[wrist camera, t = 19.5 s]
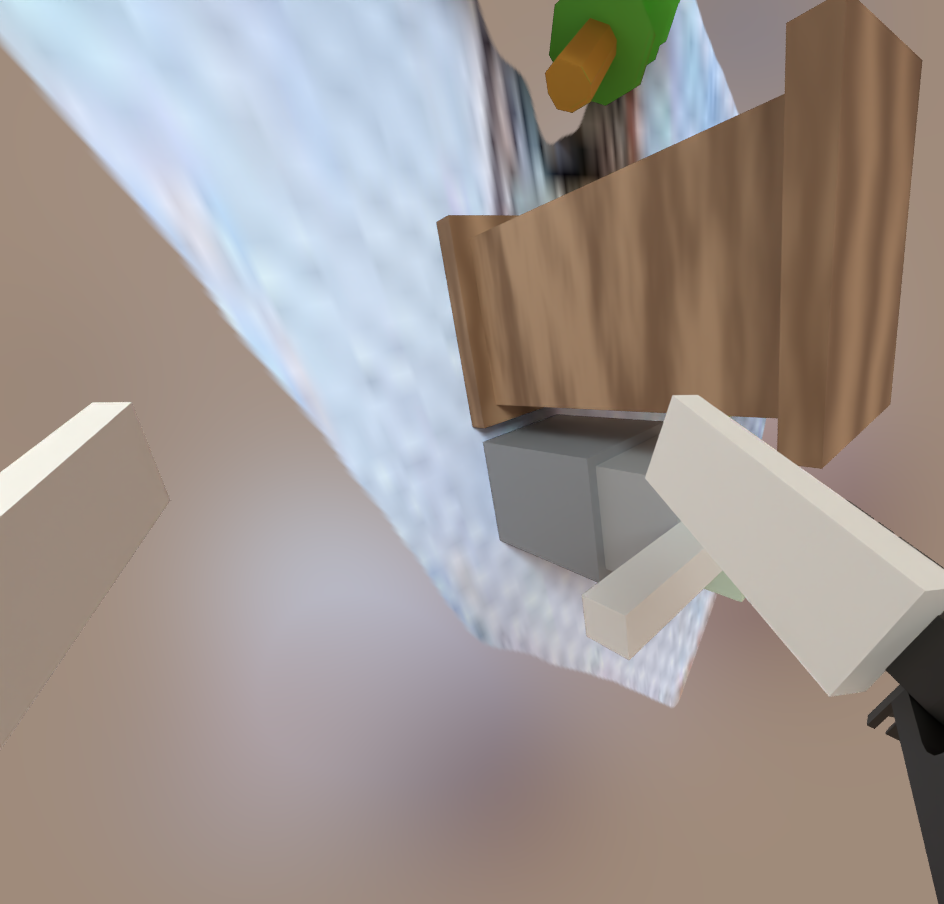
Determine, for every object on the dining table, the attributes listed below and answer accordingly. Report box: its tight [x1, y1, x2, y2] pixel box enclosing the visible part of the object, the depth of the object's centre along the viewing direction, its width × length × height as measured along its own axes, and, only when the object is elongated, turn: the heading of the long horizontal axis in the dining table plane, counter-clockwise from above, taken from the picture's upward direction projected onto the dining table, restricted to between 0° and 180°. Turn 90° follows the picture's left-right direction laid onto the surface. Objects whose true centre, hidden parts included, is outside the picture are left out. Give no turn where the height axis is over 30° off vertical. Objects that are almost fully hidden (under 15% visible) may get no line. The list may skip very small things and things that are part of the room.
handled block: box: [582, 522, 745, 660], centre depth 30 cm, size 20×8×4 cm, turn 102°
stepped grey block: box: [483, 415, 681, 583], centre depth 44 cm, size 12×12×21 cm
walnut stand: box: [436, 0, 922, 469], centre depth 35 cm, size 14×20×30 cm
